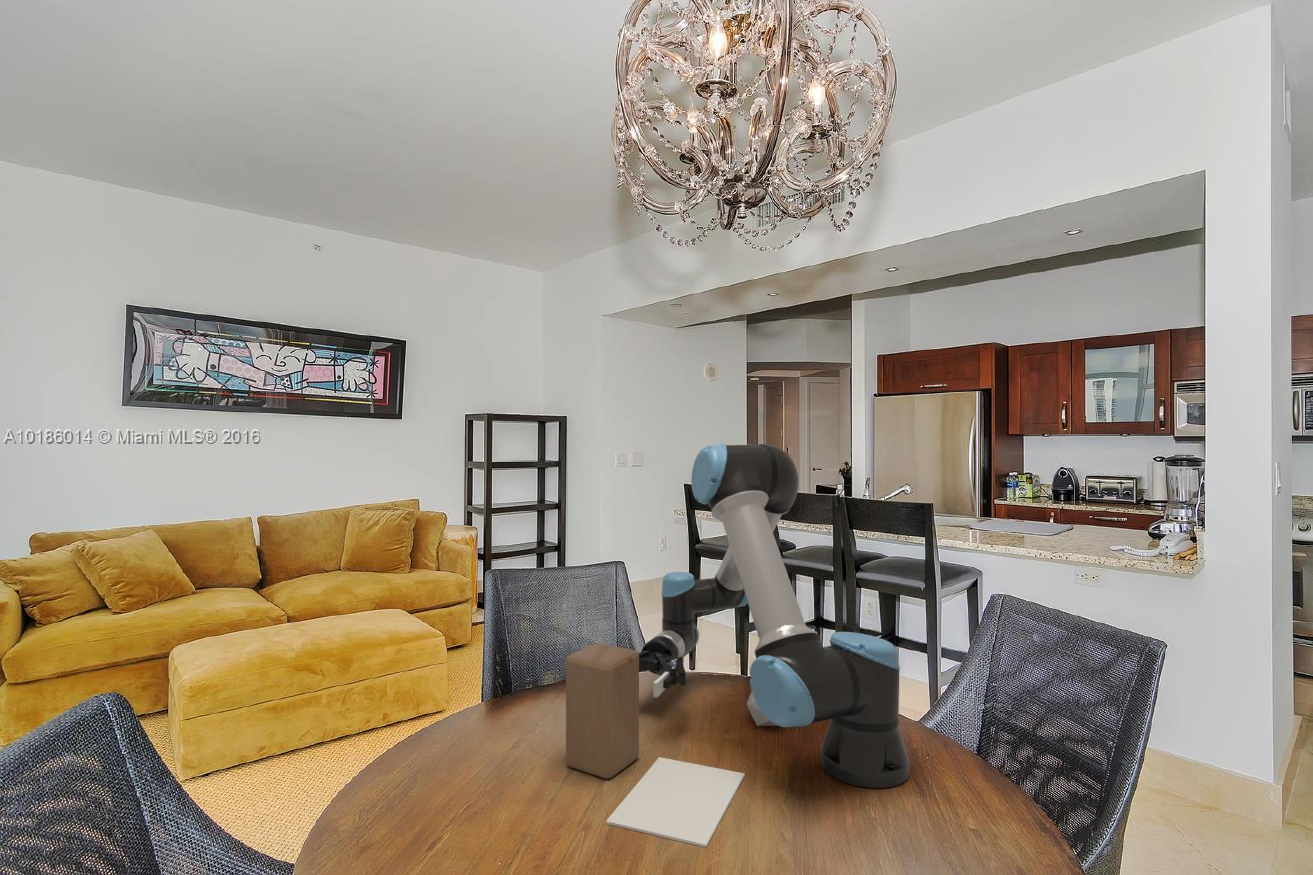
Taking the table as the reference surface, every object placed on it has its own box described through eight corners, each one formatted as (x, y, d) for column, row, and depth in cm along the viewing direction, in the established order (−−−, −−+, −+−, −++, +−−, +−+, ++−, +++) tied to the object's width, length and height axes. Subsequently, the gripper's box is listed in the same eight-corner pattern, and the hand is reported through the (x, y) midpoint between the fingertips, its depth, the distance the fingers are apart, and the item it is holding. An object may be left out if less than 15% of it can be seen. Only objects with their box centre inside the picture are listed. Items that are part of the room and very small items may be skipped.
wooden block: (641, 758, 123) (641, 649, 123) (608, 782, 114) (608, 665, 114) (597, 745, 128) (597, 640, 128) (563, 767, 120) (563, 655, 120)
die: (779, 739, 132) (801, 694, 135) (741, 714, 134) (763, 671, 137) (772, 736, 140) (793, 694, 143) (736, 713, 141) (757, 672, 144)
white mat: (744, 775, 117) (744, 773, 117) (706, 847, 96) (706, 844, 96) (659, 759, 123) (659, 756, 123) (606, 823, 102) (606, 820, 102)
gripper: (716, 676, 145) (683, 714, 125) (612, 662, 154) (565, 695, 134) (716, 642, 145) (683, 674, 125) (612, 629, 154) (565, 657, 134)
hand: (622, 685), depth 130 cm, fingers open, 13 cm apart
